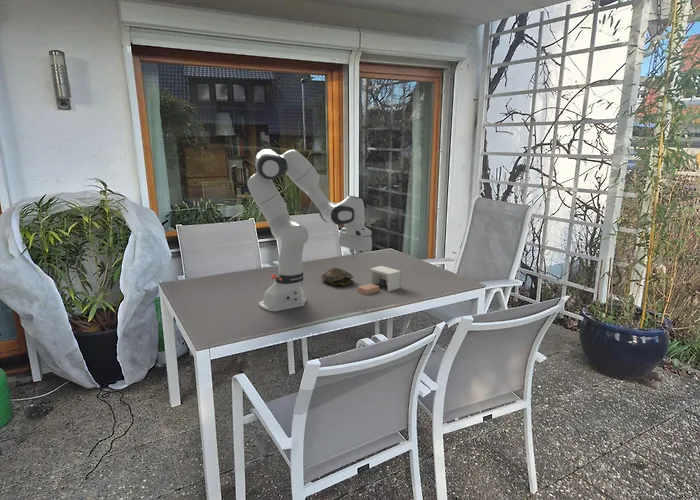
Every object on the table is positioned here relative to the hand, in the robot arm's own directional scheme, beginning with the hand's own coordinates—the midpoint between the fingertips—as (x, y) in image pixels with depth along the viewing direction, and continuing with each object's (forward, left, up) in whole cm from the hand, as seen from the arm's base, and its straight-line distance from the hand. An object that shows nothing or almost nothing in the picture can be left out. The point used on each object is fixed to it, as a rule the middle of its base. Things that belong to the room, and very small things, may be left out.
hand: (354, 258), depth 214 cm
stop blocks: (+24, 0, -19) cm, 31 cm away
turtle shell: (+9, +24, -20) cm, 32 cm away
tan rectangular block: (+9, 0, -20) cm, 22 cm away
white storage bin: (+22, 0, -19) cm, 29 cm away
